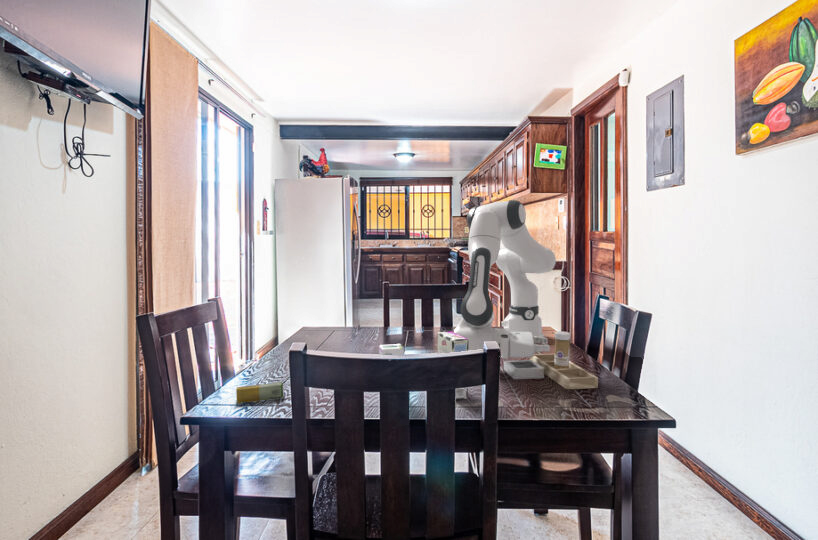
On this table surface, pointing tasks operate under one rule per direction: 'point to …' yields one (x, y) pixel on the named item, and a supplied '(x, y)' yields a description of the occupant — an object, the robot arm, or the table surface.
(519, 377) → the socket block
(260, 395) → the medication box
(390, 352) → the syrup box
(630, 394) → the table surface
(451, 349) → the candy bar box
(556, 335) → the sprinkles bottle
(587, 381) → the wooden compartment tray
